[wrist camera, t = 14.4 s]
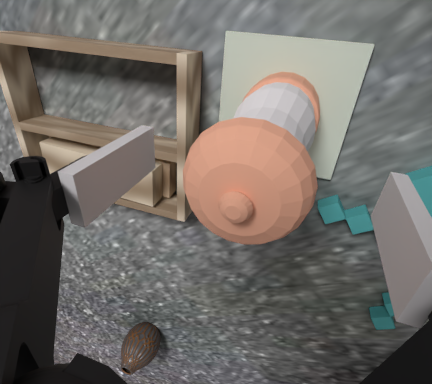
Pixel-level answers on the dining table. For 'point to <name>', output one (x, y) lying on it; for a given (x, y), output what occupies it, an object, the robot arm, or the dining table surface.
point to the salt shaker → (257, 163)
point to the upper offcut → (72, 150)
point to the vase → (139, 347)
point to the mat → (306, 67)
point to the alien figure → (361, 222)
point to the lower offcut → (164, 176)
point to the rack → (93, 133)
